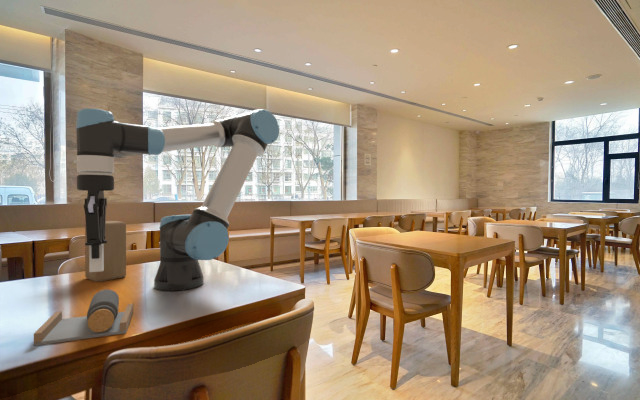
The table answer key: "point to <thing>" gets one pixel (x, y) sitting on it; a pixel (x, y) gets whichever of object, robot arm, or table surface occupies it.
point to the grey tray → (78, 328)
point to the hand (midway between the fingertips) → (96, 271)
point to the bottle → (103, 310)
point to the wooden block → (110, 253)
